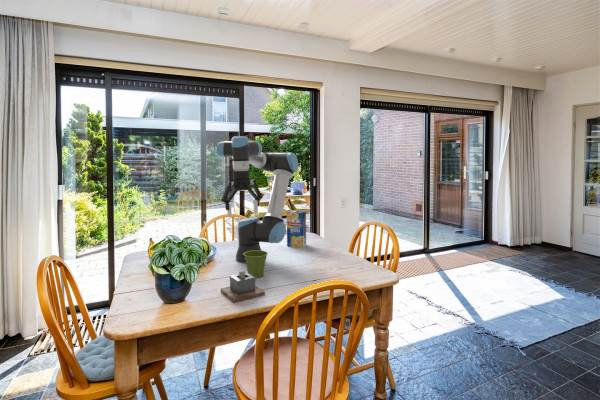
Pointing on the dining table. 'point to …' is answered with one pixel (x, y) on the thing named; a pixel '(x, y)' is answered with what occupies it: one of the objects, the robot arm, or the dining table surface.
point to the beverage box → (296, 228)
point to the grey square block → (242, 284)
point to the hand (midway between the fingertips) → (243, 215)
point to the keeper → (242, 297)
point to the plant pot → (255, 262)
